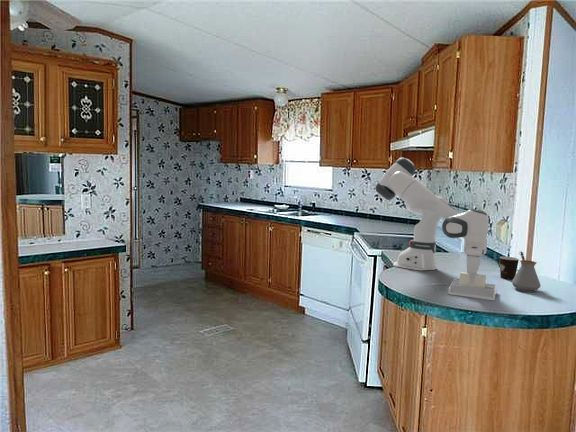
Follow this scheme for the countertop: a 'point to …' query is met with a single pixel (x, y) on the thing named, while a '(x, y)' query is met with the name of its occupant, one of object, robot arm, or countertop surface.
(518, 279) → the coffee pot
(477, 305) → the countertop surface
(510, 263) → the coffee mug
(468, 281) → the ceramic tile
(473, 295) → the dish rack
